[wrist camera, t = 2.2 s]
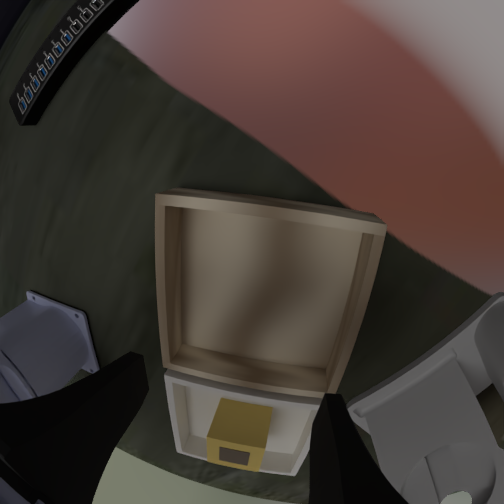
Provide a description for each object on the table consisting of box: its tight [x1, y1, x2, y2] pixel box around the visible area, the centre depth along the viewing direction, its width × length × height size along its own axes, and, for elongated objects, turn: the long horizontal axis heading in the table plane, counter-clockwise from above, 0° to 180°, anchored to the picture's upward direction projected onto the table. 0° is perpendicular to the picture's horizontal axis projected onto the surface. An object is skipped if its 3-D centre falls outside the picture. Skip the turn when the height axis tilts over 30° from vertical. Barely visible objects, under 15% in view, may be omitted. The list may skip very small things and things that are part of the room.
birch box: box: [155, 188, 387, 398], centre depth 17 cm, size 12×12×3 cm
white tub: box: [164, 369, 323, 476], centre depth 22 cm, size 12×12×3 cm
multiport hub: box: [9, 0, 139, 126], centre depth 14 cm, size 4×14×2 cm, turn 130°
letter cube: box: [206, 398, 273, 472], centre depth 20 cm, size 4×4×5 cm
